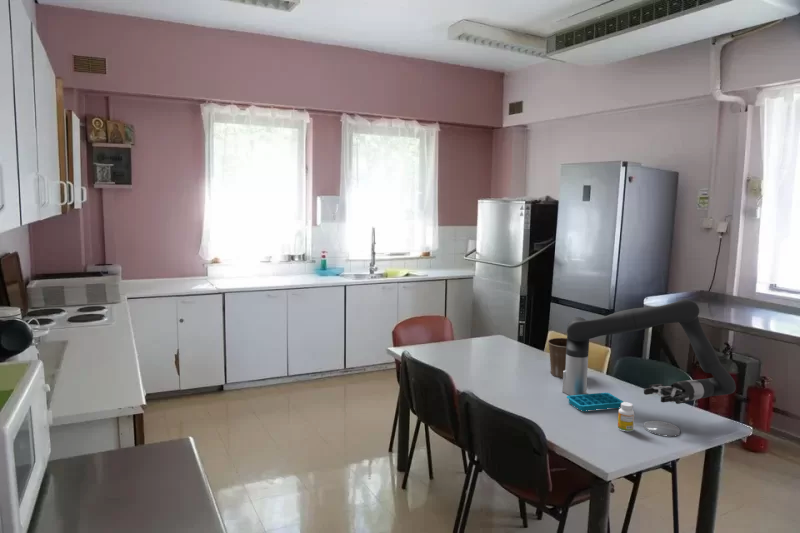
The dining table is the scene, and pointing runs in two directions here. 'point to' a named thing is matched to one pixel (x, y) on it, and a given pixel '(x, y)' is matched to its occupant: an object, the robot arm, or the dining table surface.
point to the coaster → (662, 428)
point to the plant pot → (557, 356)
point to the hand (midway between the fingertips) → (652, 395)
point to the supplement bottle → (626, 417)
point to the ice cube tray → (594, 401)
